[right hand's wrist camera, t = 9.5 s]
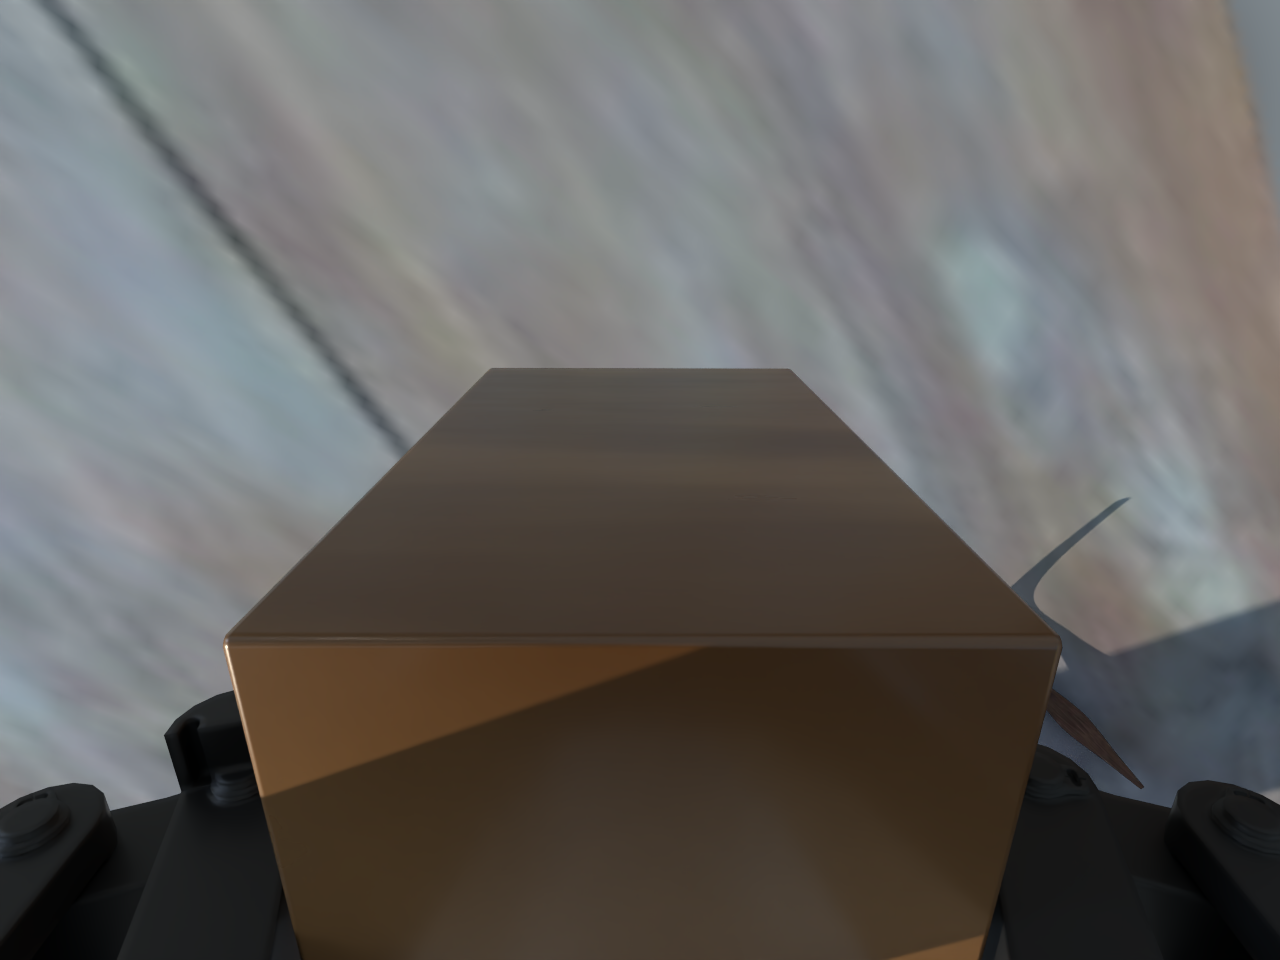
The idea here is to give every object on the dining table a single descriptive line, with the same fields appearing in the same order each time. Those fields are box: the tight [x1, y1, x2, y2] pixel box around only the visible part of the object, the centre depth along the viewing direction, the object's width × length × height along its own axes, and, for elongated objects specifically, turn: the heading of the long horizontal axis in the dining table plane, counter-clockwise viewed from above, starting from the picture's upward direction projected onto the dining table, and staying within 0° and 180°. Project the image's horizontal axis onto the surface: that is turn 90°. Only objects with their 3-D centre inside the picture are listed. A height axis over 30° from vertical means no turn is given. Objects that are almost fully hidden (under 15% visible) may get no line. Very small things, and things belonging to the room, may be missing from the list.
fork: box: [1046, 689, 1144, 789], centre depth 31 cm, size 3×16×2 cm, turn 47°
